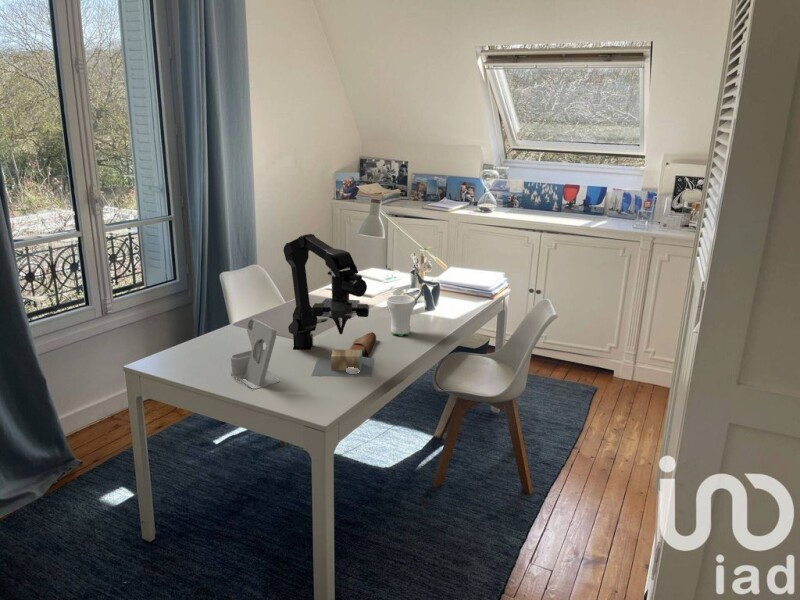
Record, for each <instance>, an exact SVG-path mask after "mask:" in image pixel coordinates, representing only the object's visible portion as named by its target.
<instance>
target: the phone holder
mask: <svg viewBox="0 0 800 600" xmlns="http://www.w3.org/2000/svg"><path fill="white" fill-rule="evenodd" d="M246 332H247V336H248V338H249V341H250V346H251V350H247V351H243V352H239V353H236V354H232V355H231V357H230V366H231V371H230V376H232V377H233V376H234V377H233V378H234V379H236V378H237V379H238V381H239V380H240V381H241V382H240V381H239V382H240V383H242V384H243V383H244V384H245V385H244V384H243V385H244V386H246V385H247V386H248V387H247V386H246V387H247V388H248V389H250V388H251V389H253V390H252V391H254V390H258V389H262V388H265V387H268V386H272V385H274V384H277V383H280V381H281V380H280V379H279V378H278V377H276V376H275V375H273V373H271V372H269V371H268V368H269V364H270V360H271V357H272V353H273V349H274V345H275V343H276V339H277V330H276V328H273V327H272V326H269V325H268V324H266V323H264V322H262V321H260V320H258V319H257V318H249V320H248V321H247V323H246ZM264 343H265V349H264ZM237 379H236V380H237ZM243 379H246V380H247V381H248V382H250V383H252V384H253V385H254V386H255V388H254V387H253V386H251V385H250V384H248V383H247V382H246V381H244V380H243ZM251 389H250V390H251Z"/></svg>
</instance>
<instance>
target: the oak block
mask: <svg viewBox="0 0 800 600" xmlns="http://www.w3.org/2000/svg"><path fill="white" fill-rule="evenodd" d="M330 357H331V370H346V368H348V367H354V368H358V369H359V370H361V368H362V358H363V356H362V350H349V349H332V351H331V356H330Z"/></svg>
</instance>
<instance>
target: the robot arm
mask: <svg viewBox="0 0 800 600" xmlns="http://www.w3.org/2000/svg"><path fill="white" fill-rule="evenodd" d="M282 251H283V254H284V259H285V261H286V262H287V263H288V265H289V266H290V269H291V276H292V283H293V284H292V286H293V292H294V301H295V308H294V310H293V313H292V321H291V323H290V324H289V325H288V327H287V328H288V332H289V334H291V335H292V337H293V339H292V340H293V348H292V350H297V351H299V350H300V351H310V350H312V347H313V346H314V334H313V333H312V332H314V331H316V328H317V325H318V320H319V319H318V317H322V316H323V315H324V313H328V314H329V316H328V319H332V320H333V321H334V324H335V325H336V328H337V330H338V333H339V334H338V335H343V333H344V328H345V326H346V323H347V322H348V321H349V320H351V319H352V317H353V314H356V316H357V317H358V318H367V317H369V314H370V305H369V304H368V303H357V305H356V306H353V303H352V302H350V295H351V296H354V297H358V298H360V297H363V296H364V295H365V294H366V292H367V289H368V285H367V282H366V281H365V280H364V279H363V276H362V275H361V274H359V270H358V267H357V265H356V264H355V261H354V259H353V257H352V255H351V253H350V252H348V251H346V250H343V249H339V248H333V247H332V246H330V245H329V244H327V242H325V241H322V240H321V239H320V238H318V237H316V235H315V234H312V233H308V234H302V235H300V236H299V237H297V238H295V239H293V240H291V241H289V242H286V243H285V245H284V246H283V250H282ZM310 252H312V253H313V254H315V255H316V256H318V258H321V259H322V260H324V262H325V266H326V267H327V268H329V271H328V272H327V275H328V276H331V302H330V306H326V303H324V302H322V303H321V302H320V303H318V302H316V303H314V304H313V305H311V303H310V295H309V294H310V293H309V287H308V286H309V285H308V279H307V270H306V265H307V263H308V260H309V256H310V255H309V253H310Z"/></svg>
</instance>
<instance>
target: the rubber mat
mask: <svg viewBox="0 0 800 600" xmlns="http://www.w3.org/2000/svg"><path fill="white" fill-rule="evenodd" d="M374 365H375V357H362V368H361V370H360V372H359V373H357V374H349V373H347V372H346V370H331V356H327V357H326V356H319V357H317V360H316V362H315V365H314V367H313V370H312V373H311V377H346V378H347V377H349V378H350V377H353V378H354V377H355V378H357V377H358V378H360V377H362V378H364V377H365V378H372V377H373V373H374Z"/></svg>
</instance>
